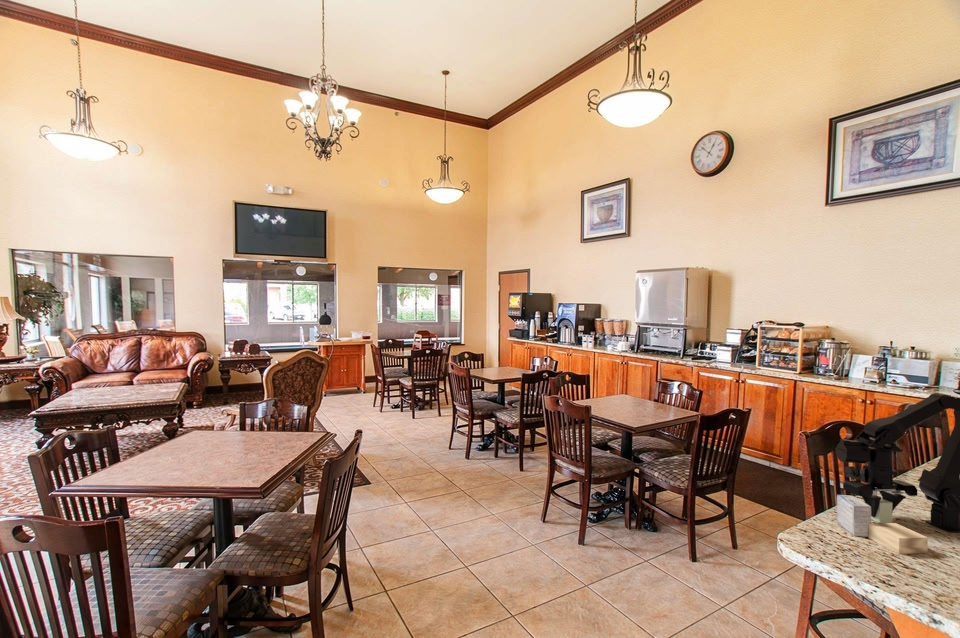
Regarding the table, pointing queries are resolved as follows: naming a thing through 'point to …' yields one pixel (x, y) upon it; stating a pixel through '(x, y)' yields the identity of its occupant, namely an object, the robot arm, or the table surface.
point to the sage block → (884, 512)
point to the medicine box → (853, 515)
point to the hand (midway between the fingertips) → (879, 516)
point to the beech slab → (898, 538)
